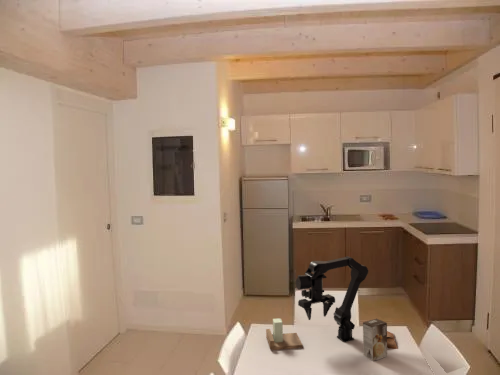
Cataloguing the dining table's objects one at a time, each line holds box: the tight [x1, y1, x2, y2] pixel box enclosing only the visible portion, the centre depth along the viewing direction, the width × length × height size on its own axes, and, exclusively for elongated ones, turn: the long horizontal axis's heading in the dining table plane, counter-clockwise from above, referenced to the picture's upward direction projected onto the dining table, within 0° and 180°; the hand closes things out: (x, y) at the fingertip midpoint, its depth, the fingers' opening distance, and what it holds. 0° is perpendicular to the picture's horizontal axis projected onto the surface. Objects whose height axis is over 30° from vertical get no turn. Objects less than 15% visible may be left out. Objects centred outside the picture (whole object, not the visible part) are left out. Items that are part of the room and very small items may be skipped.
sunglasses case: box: [387, 330, 399, 350], centre depth 196 cm, size 18×7×7 cm, turn 168°
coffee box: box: [362, 318, 388, 362], centre depth 179 cm, size 9×6×16 cm
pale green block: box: [272, 318, 284, 343], centre depth 195 cm, size 4×5×10 cm
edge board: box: [265, 328, 304, 351], centre depth 196 cm, size 16×14×4 cm
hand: (317, 318), depth 193 cm, fingers open, 9 cm apart
